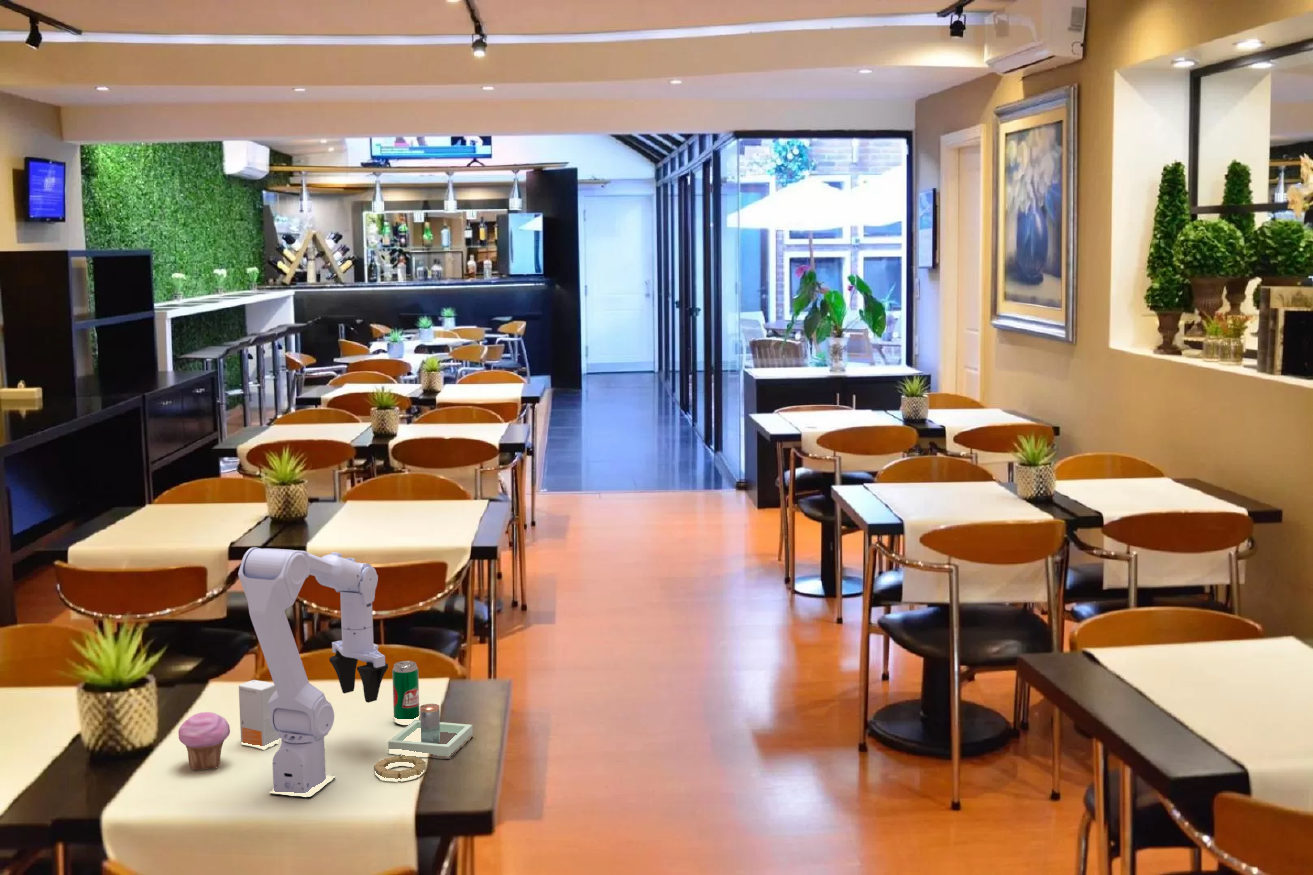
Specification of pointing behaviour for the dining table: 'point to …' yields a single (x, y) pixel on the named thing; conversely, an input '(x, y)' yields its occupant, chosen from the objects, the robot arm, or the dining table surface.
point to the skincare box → (256, 713)
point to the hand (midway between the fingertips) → (359, 696)
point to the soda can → (405, 690)
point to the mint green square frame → (432, 748)
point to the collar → (416, 770)
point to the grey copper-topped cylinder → (430, 723)
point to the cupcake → (204, 739)
